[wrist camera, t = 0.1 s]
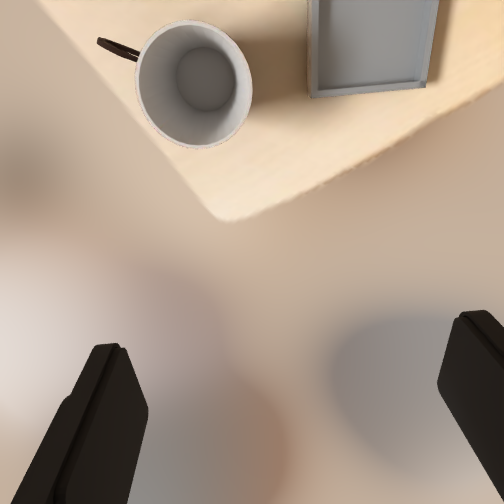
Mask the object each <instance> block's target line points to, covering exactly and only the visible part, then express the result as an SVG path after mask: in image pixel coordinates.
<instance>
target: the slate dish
mask: <svg viewBox="0 0 504 504" xmlns="http://www.w3.org/2000/svg"><path fill="white" fill-rule="evenodd" d="M438 5H439V0H307V96H309V97H310V98H320V97H330V96H341V95H352V94H362V93H373V92H384V91H394V90H405V89H415V88H426V82H427V75H428V69H429V62H430V56H431V50H432V43H433V37H434V31H435V24H436V18H437V11H438Z"/></svg>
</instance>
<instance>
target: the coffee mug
mask: <svg viewBox="0 0 504 504" xmlns="http://www.w3.org/2000/svg"><path fill="white" fill-rule="evenodd" d="M97 44H98V45H100V46H101V47H103V48H105V49H107V50H109V51H110V52H112V53H114V54H116V55H118V56H121V57H123V58H126V59H129V60H132V61H134V62H137V63H136V71H135V90H136V94H137V98H138V102H139V105H140V107H141V109H142V112H143V114H144V115H145V117H146V118H147V120H148V122H149V123H150V124H151V125H152V127H153V128H154V129H155V130H156V131H157V132H158V133H159V134H160V135H162V136H163V137H164V138H166V139H167V140H169V141H171V142H173V143H174V144H176V145H179V146H182V147H186V148H192V149H205V148H211V147H214V146H217V145H220V144H222V143H223V142H225V141H227V140H228V139H230V138H231V137H232V136H233V135H234V134H236V132H237V131H238V130H239V129H240V127H241V126H242V125H243V123H244V121H245V119H246V117H247V115H248V113H249V109H250V106H251V102H252V93H253V89H252V77H251V73H250V69H249V66H248V63H247V61H246V59H245V57H244V55H243V53H242V51H241V50H240V48H239V47H238V46H237V44H236V43H235V42H234V41H233V40H232V39H231V38H230V37H229V36H228V35H227V34H226V33H225V32H223V31H222V30H220V29H218V28H217V27H215V26H213V25H210V24H208V23H205V22H202V21H195V20H182V21H176V22H173V23H170V24H167V25H165V26H164V27H162V28H161V29H159V30H158V31H156V32H155V33H154V34H153V35H152V36H151V37H150V38H149V39H148V40H147V42H146V43H145V45H144V47H143V48H142V50H141V52H139V51H136V50H134V49H132V48H129V47H126V46H124V45H121V44H119V43H116V42H113V41H110V40H108V39H105V38H100V37H99V38H98V40H97ZM127 52H128V53H127ZM129 53H131V54H133V55H136V56H138V57H139V58H138V57H136V56H133V55H131V54H129Z"/></svg>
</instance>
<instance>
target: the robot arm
mask: <svg viewBox="0 0 504 504" xmlns="http://www.w3.org/2000/svg"><path fill="white" fill-rule="evenodd" d="M437 385H438V390H439V392H440V394H441V396H442V398H443V399H444V401H445V403H446V405H447V406H448V408H449V410H450V411H451V413H452V415H453V417H454V418H455V420H456V422H457V423H458V425H459V427H460V428H461V430H462V432H463V433H464V435H465V437H466V439H467V440H468V442H469V444H470V445H471V447H472V449H473V450H474V452H475V454H476V455H477V457H478V459H479V461H480V462H481V464H482V466H483V467H484V469H485V471H486V472H487V474H488V476H489V478H490V479H491V481H492V482H493V484H494V486H495V488H496V489H497V491H498V493H499V495H500V496H501V498H502V499H503V501H504V327H503V326H502V325H501V324H500V323H499V322H498V321H497V320H496V319H495V318H494V317H493V316H492V315H491V314H490V313H489V312H488V311H486V310H478V311H466V312H462V313H461V314H460V315H459V317H458V318H455V319H454V322H453V326H452V330H451V333H450V337H449V340H448V344H447V348H446V351H445V355H444V359H443V362H442V366H441V369H440V373H439V377H438V380H437ZM147 420H148V406H147V403H146V401H145V398H144V395H143V393H142V390H141V387H140V385H139V382H138V379H137V377H136V374H135V371H134V369H133V366H132V364H131V361H130V358H129V356H128V353H127V350H126V349H125V348H121V347H120V346H119V344H118V343H111V344H100V345H96V346H94V348H93V349H92V352H91V354H90V356H89V358H88V360H87V362H86V364H85V366H84V368H83V370H82V372H81V374H80V376H79V378H78V380H77V382H76V384H75V386H74V388H73V390H72V393H71V394H70V395H69V396H67V397H66V398H65V399H64V400H63V402H62V403H61V405H60V407H59V409H58V411H57V413H56V415H55V416H54V418H53V420H52V422H51V424H50V426H49V428H48V430H47V432H46V434H45V436H44V438H43V440H42V442H41V444H40V446H39V448H38V450H37V452H36V454H35V456H34V458H33V460H32V462H31V464H30V466H29V468H28V470H27V472H26V474H25V476H24V478H23V480H22V482H21V484H20V486H19V488H18V490H17V492H16V494H15V496H14V498H13V500H12V502H11V504H127V501H128V497H129V493H130V489H131V485H132V481H133V477H134V473H135V469H136V464H137V460H138V457H139V453H140V448H141V444H142V441H143V436H144V432H145V428H146V424H147Z"/></svg>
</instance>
